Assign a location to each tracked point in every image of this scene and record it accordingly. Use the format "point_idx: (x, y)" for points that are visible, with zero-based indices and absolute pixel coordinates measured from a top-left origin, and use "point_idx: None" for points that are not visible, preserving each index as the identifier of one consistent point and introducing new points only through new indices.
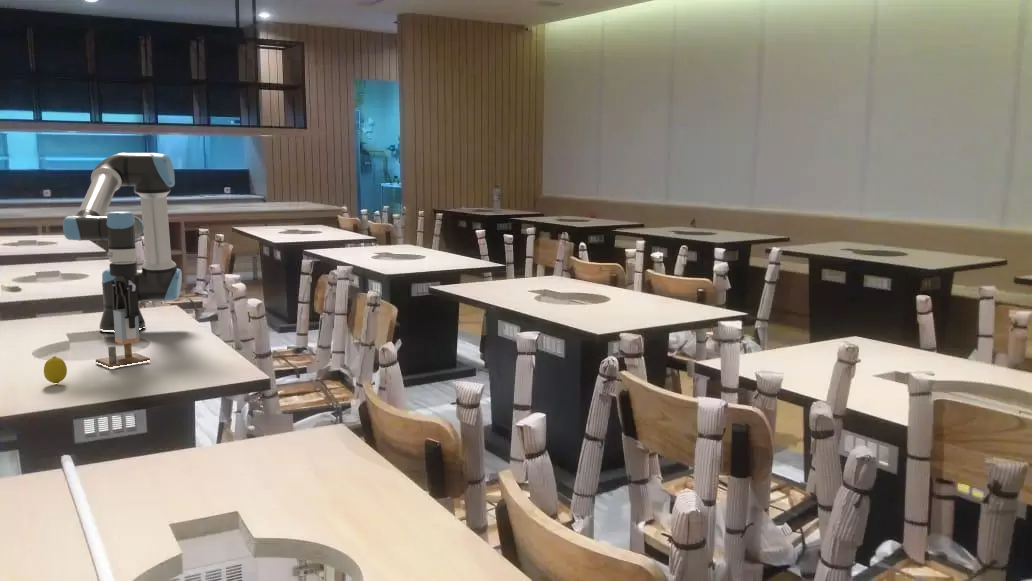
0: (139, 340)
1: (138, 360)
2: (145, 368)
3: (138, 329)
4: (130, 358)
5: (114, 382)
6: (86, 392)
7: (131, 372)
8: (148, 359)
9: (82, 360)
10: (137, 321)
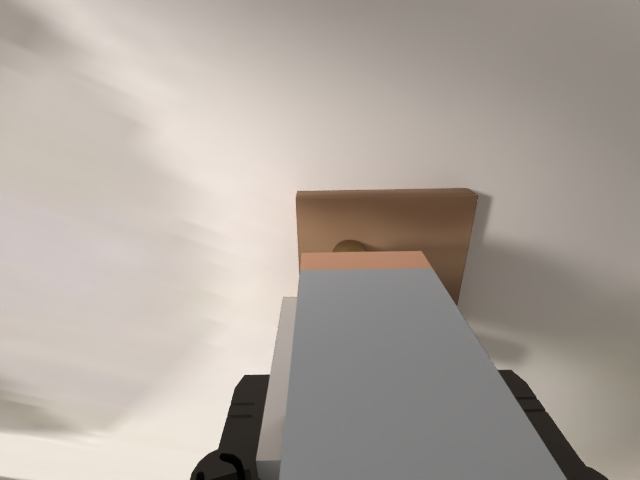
0: (424, 256)
1: (466, 252)
2: (541, 247)
3: (455, 308)
4: None
5: (614, 390)
6: (630, 462)
7: (547, 309)
8: (474, 202)
9: (202, 358)
10: (490, 373)
